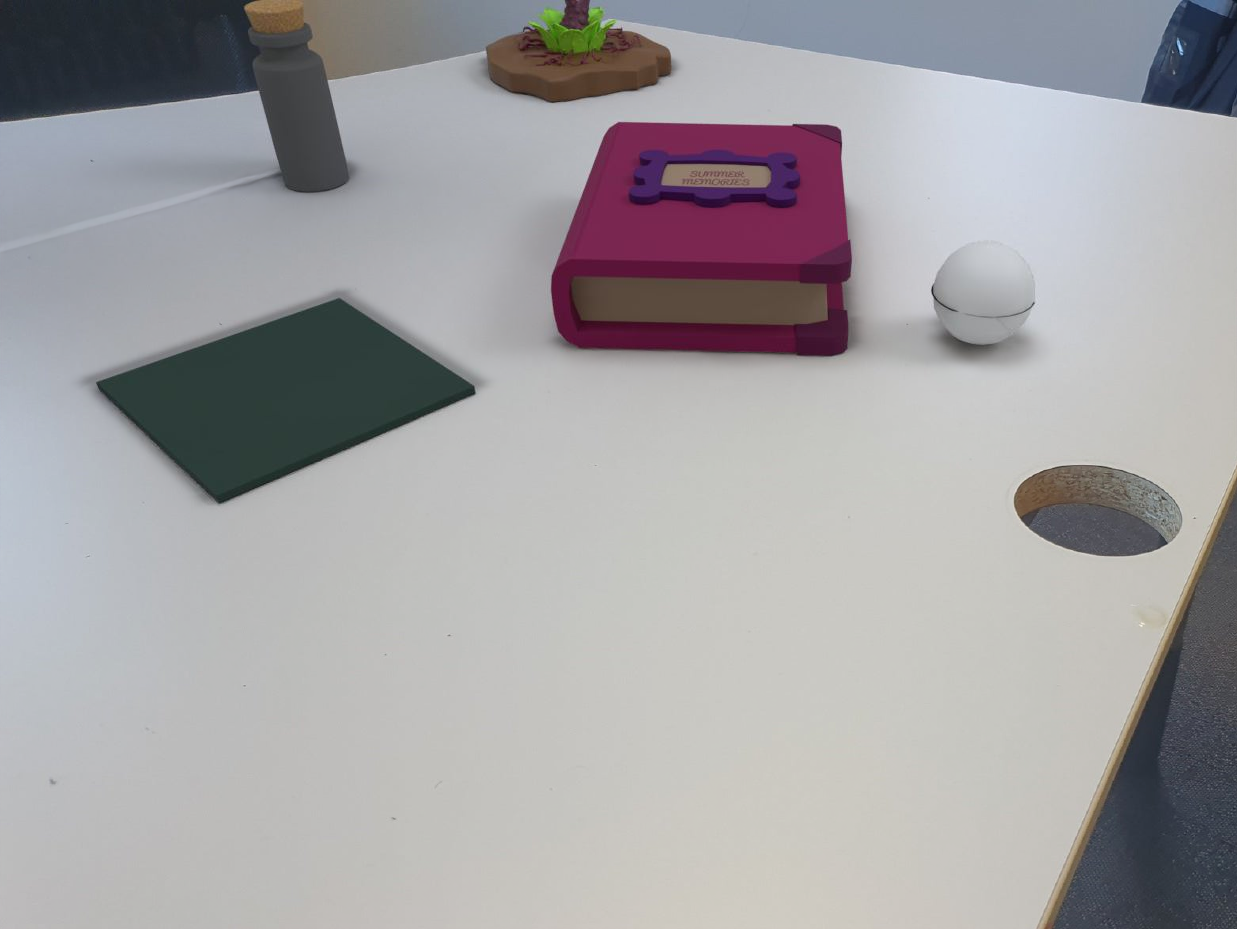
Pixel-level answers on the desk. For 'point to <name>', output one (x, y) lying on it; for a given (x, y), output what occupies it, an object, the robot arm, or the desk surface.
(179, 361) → the mat
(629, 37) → the plant
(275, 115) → the bottle
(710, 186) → the book
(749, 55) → the desk surface
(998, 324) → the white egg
